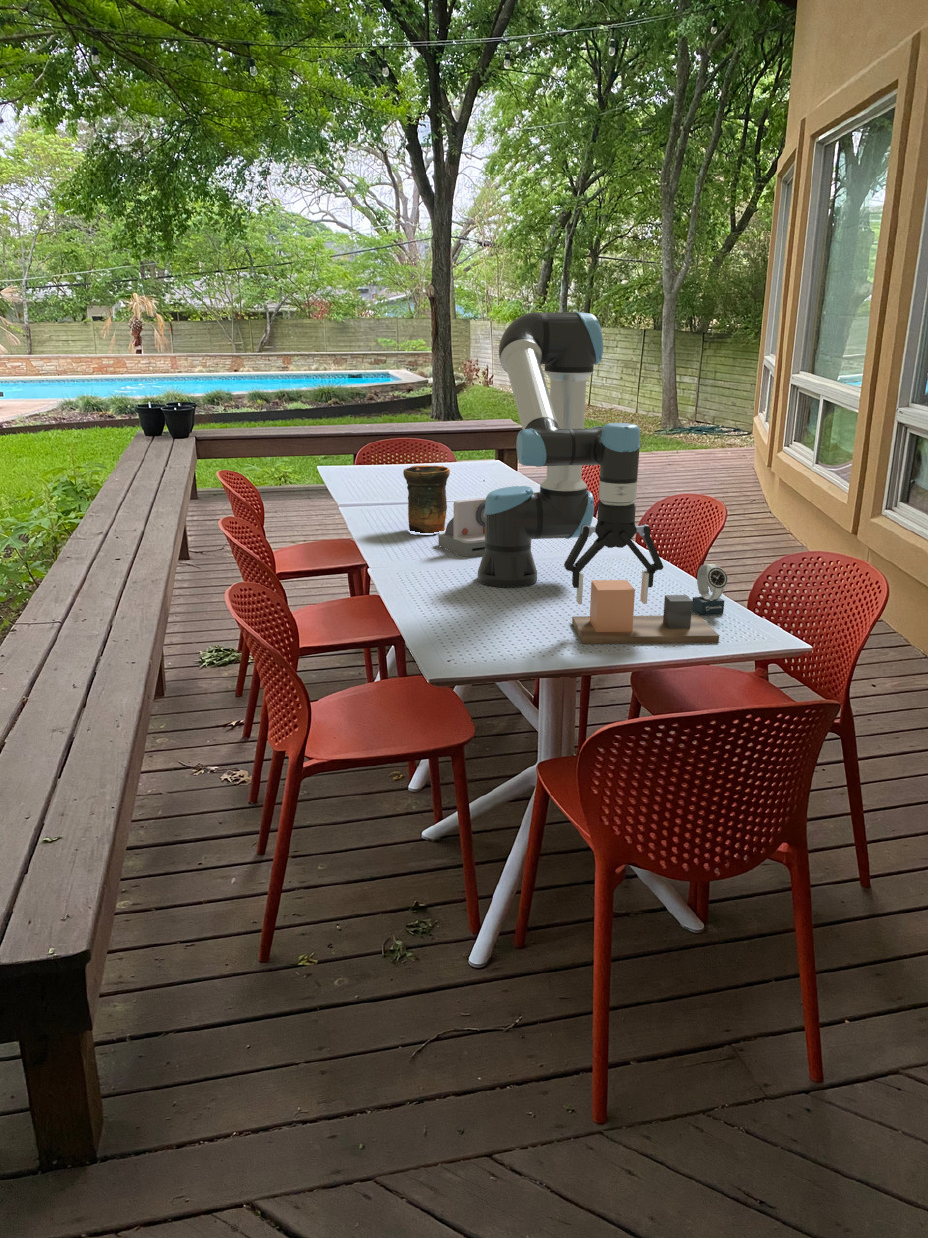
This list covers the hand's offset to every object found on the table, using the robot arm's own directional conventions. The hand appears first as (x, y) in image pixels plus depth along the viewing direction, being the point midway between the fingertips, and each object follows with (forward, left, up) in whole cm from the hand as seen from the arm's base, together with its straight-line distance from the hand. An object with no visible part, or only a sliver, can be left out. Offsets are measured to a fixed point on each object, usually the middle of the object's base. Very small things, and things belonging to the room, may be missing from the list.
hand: (611, 602), depth 193 cm
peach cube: (0, 0, -5) cm, 5 cm away
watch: (-14, +25, -7) cm, 29 cm away
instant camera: (-79, -23, -7) cm, 83 cm away
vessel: (-102, -38, -7) cm, 109 cm away
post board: (0, +7, -7) cm, 10 cm away
